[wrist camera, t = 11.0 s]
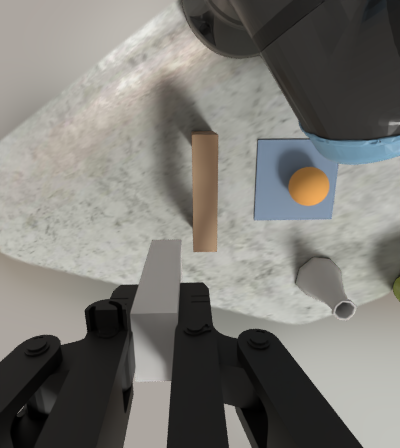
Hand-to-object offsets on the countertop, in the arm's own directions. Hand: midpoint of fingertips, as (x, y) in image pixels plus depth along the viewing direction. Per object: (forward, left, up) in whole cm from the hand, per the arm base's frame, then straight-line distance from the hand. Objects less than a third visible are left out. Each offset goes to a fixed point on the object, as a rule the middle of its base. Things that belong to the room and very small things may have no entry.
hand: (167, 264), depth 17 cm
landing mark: (+2, +17, -32) cm, 37 cm away
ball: (+2, +18, -30) cm, 35 cm away
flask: (+18, +22, -33) cm, 43 cm away
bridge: (+2, +3, -32) cm, 33 cm away
